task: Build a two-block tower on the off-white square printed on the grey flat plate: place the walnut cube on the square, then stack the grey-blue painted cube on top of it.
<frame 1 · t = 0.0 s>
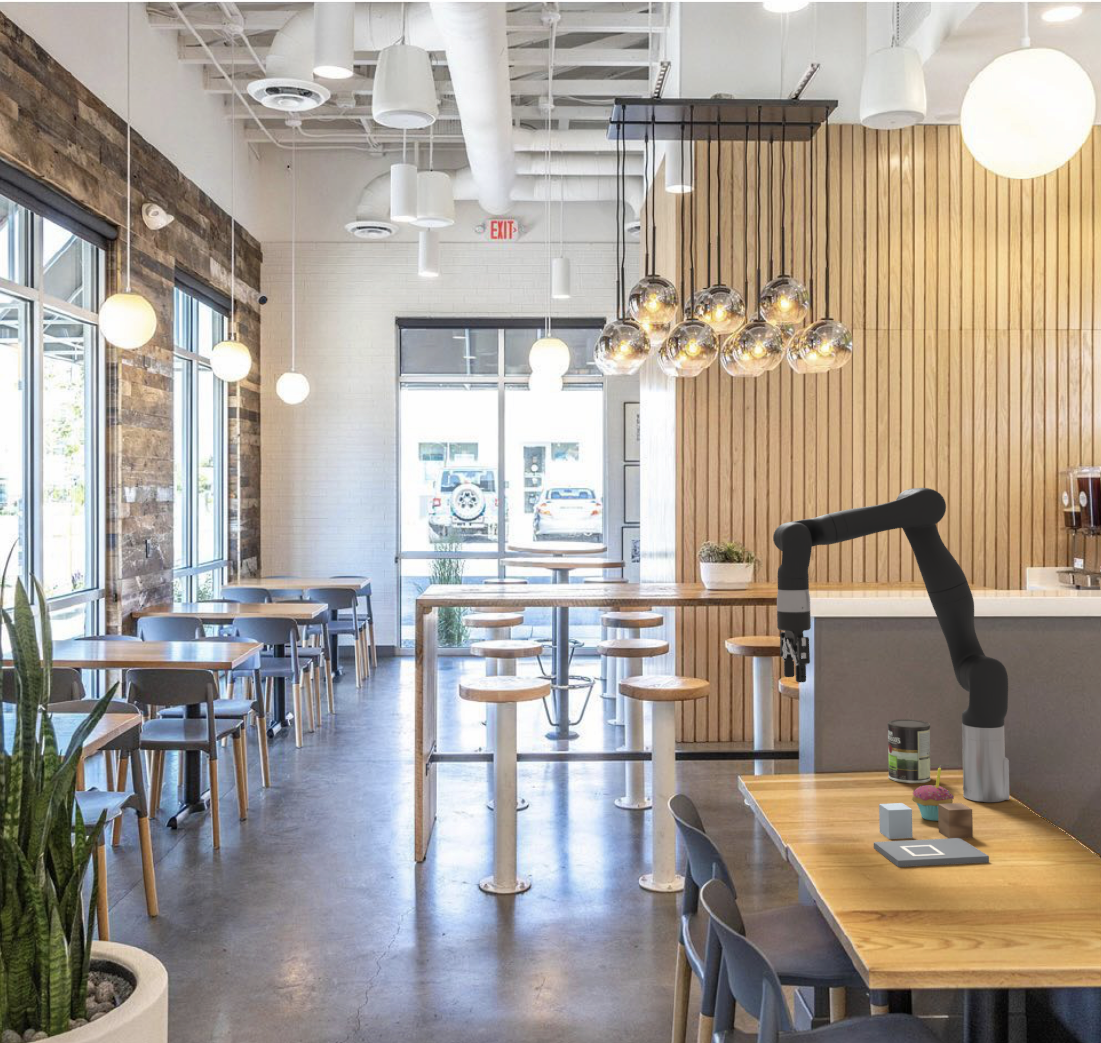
hand: (795, 679, 251), 29 cm above the table, fingers open, 8 cm apart
cupcake: (932, 818, 240), on the table
coffee can: (909, 779, 276), on the table
greyblue block: (895, 835, 228), on the table
grey flat plate: (929, 855, 214), on the table
walnut block: (955, 835, 227), on the table
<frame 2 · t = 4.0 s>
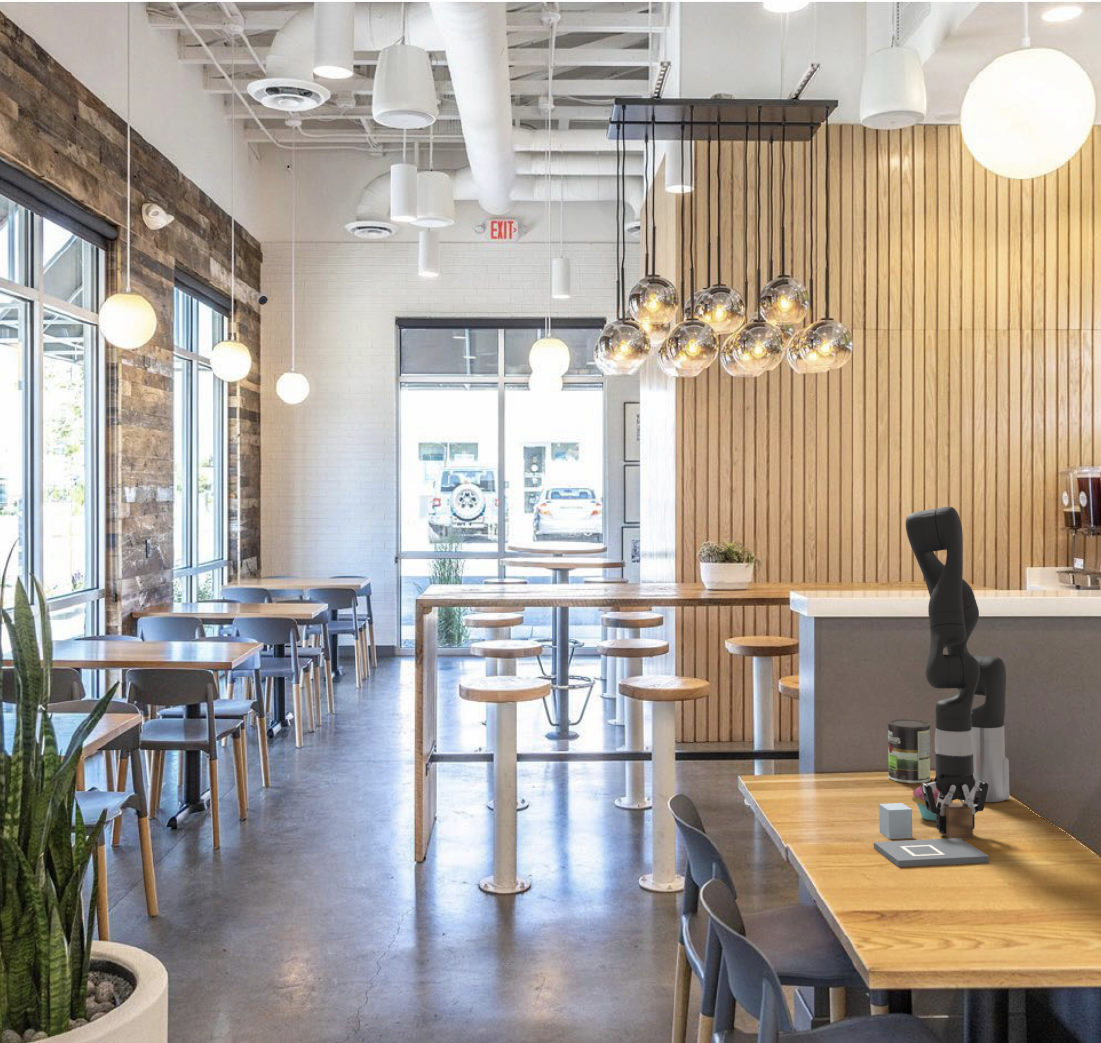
hand: (955, 831, 227), 1 cm above the table, fingers closed on walnut block, 5 cm apart
walnut block: (955, 835, 227), on the table, touching gripper
everything else where it was.
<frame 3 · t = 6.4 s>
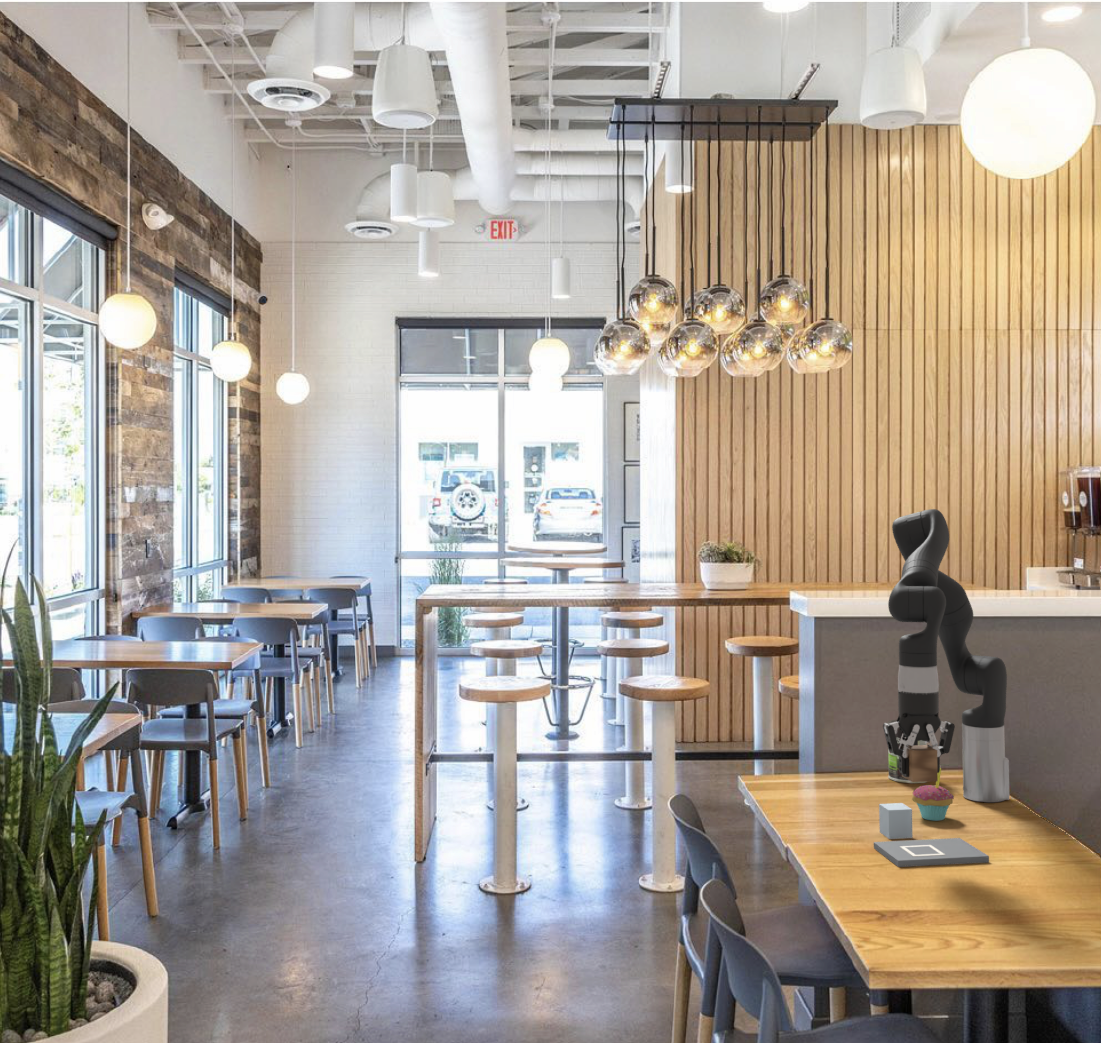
hand: (919, 775, 213), 16 cm above the table, fingers closed on walnut block, 5 cm apart
walnut block: (919, 778, 213), point 15 cm above the table, touching gripper
everything else where it was.
when the fingers open (3 cm above the table, at t = 9.1 s): walnut block drops 1 cm, resting on grey flat plate.
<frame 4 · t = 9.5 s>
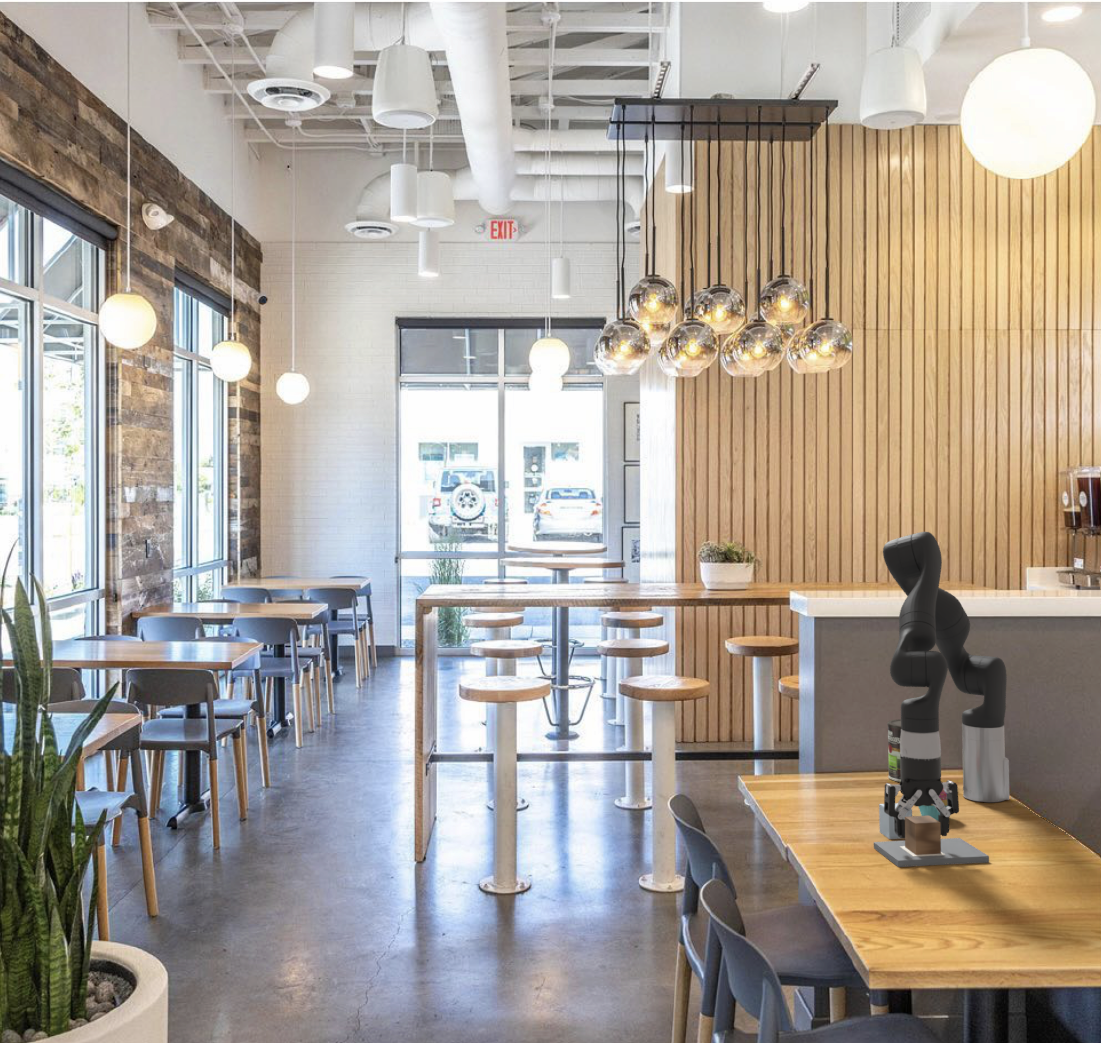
hand: (921, 836, 213), 4 cm above the table, fingers open, 8 cm apart
walnut block: (922, 850, 213), point 1 cm above the table, touching grey flat plate
everything else where it was.
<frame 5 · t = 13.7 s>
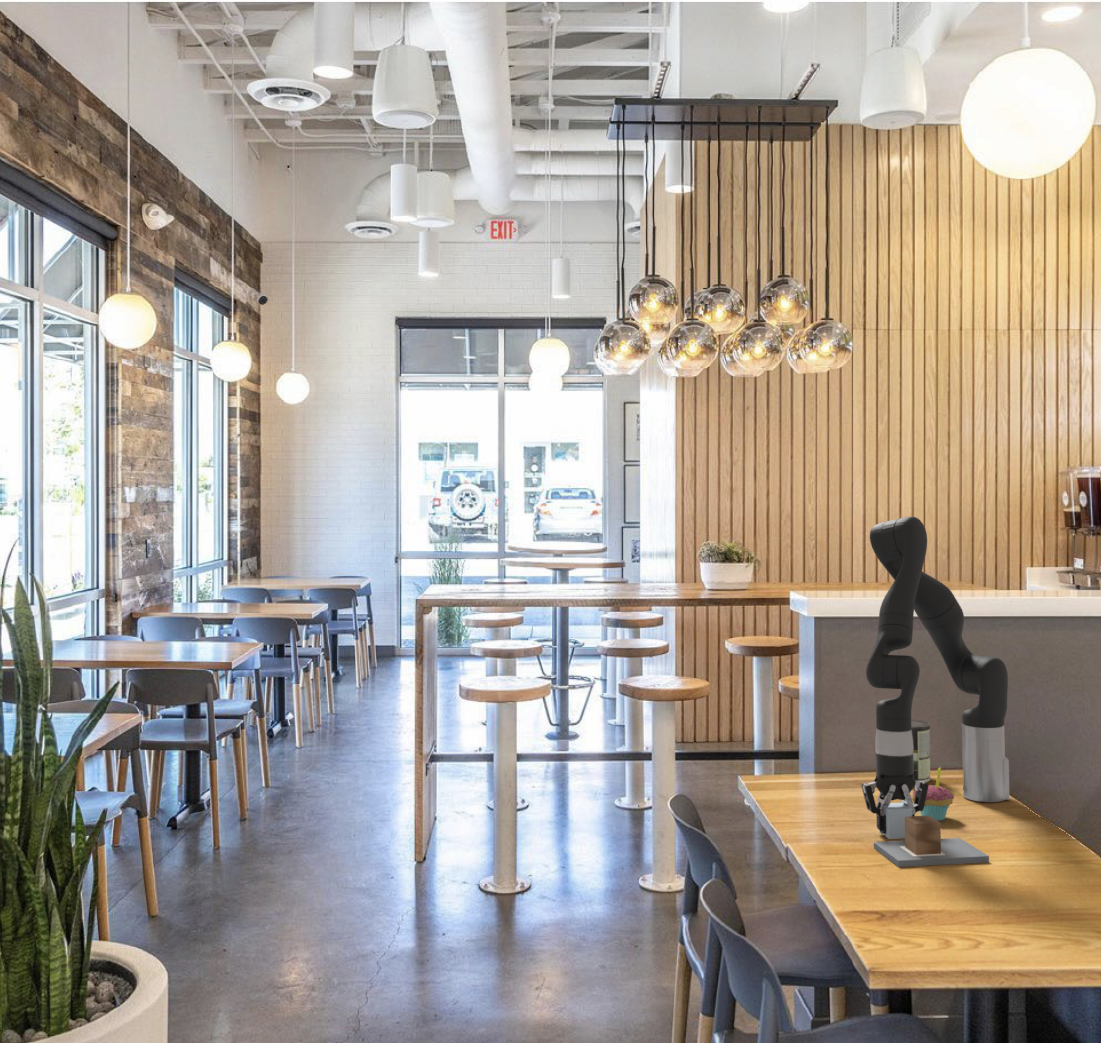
hand: (895, 831, 228), 1 cm above the table, fingers closed on greyblue block, 5 cm apart
greyblue block: (895, 835, 228), on the table, touching gripper
everything else where it was.
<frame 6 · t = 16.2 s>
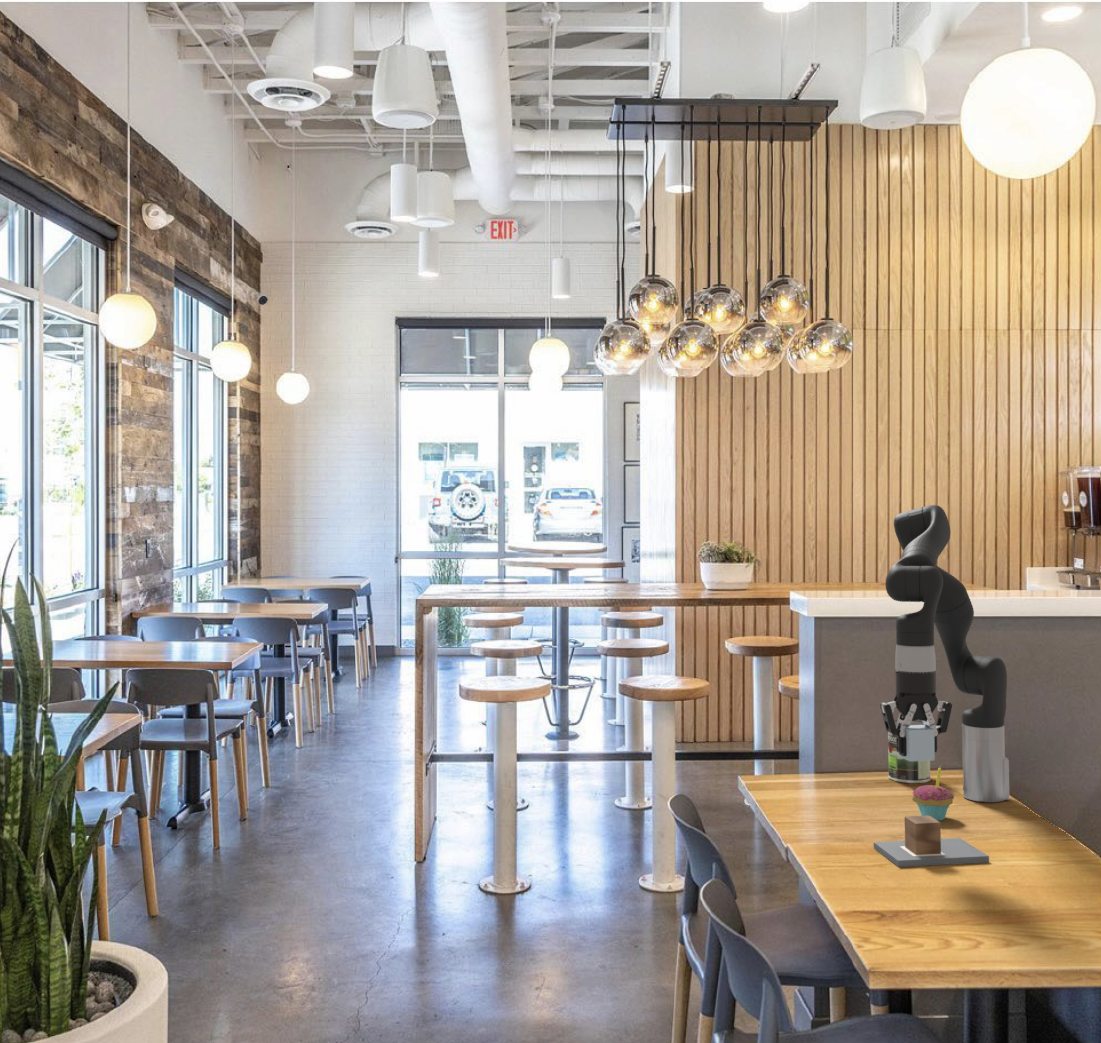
hand: (916, 754, 213), 20 cm above the table, fingers closed on greyblue block, 5 cm apart
greyblue block: (916, 758, 213), point 19 cm above the table, touching gripper
everything else where it was.
when the fingers open (9 cm above the table, at t = 18.6 s): greyblue block stays where it is, resting on walnut block.
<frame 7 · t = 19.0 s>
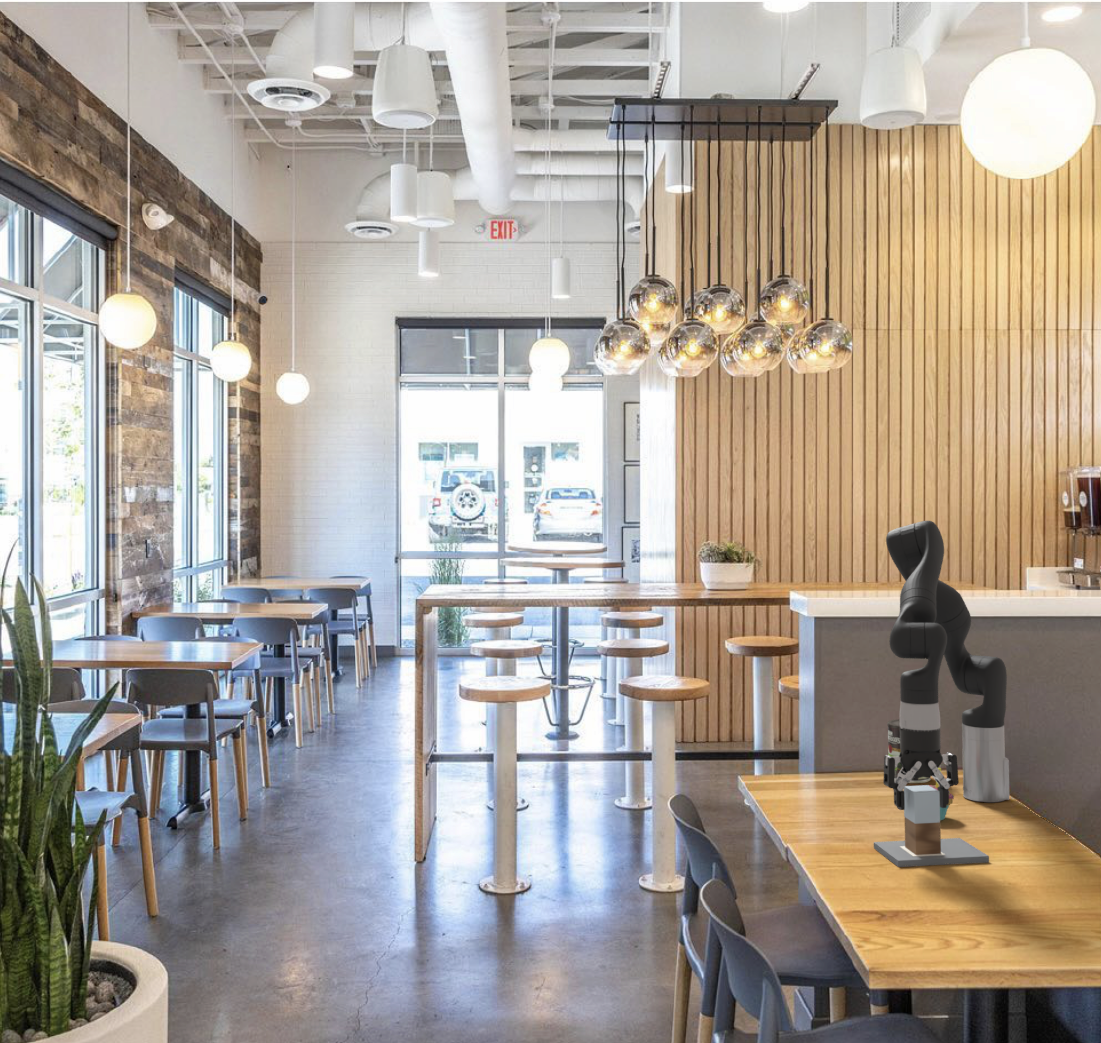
hand: (921, 808, 213), 10 cm above the table, fingers open, 8 cm apart
greyblue block: (921, 819, 213), point 7 cm above the table, touching walnut block
walnut block: (922, 850, 213), point 1 cm above the table, touching grey flat plate, greyblue block
everything else where it was.
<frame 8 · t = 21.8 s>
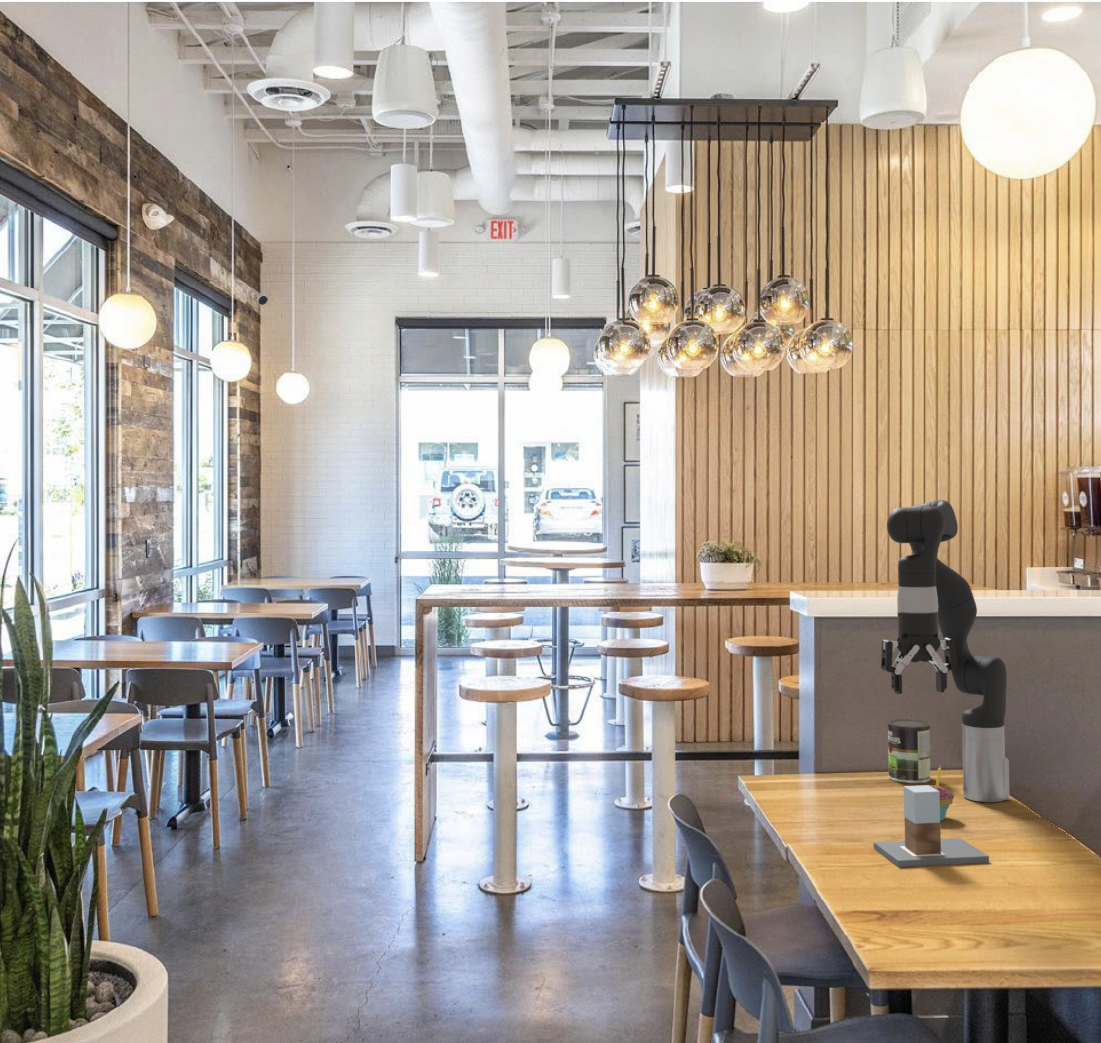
hand: (919, 692, 213), 32 cm above the table, fingers open, 8 cm apart
nothing on the table moved.
at the end: walnut block 0.1 cm from the target spot on the grey flat plate, point 1.3 cm above the grey flat plate's base; greyblue block 0.1 cm off-centre on the walnut block, point 6.0 cm above the walnut block's base; greyblue block tilted 0° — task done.
